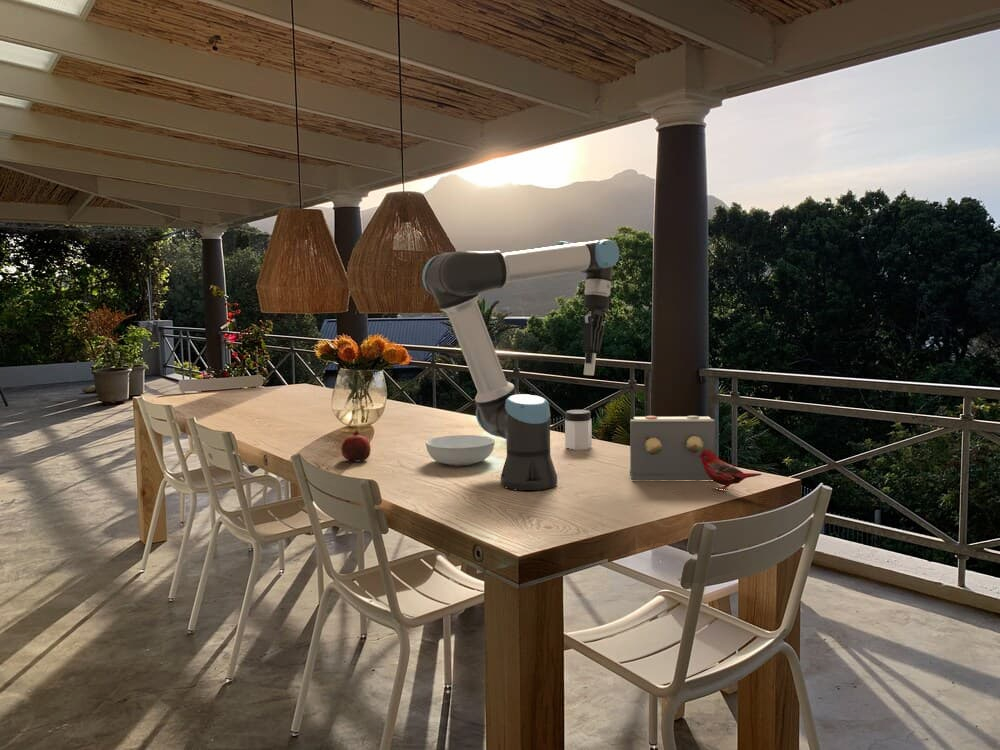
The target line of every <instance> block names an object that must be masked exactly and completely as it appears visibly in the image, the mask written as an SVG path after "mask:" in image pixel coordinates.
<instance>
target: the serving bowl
mask: <svg viewBox="0 0 1000 750" xmlns="http://www.w3.org/2000/svg"><path fill="white" fill-rule="evenodd" d="M425 447H426V451H427V453H428V455H429V456H430V458H432V459H433V460H434V461H436V462H438V463H439V464H440V463H441V464H445V465H447V464H449V465H448V466H452V465H466V466H470V465H469V464H471V465H474V464H476V463H479V462H480V463H481V462H482V461H485V460H486V459H487V458H489V456H491V454H492V453H493V451H494V448H495V439H494V438H492V437H489V436H485V435H475V434H474V435H473V434H455V435H442V436H436V437H433V438H430V439H428V440H426V441H425ZM473 463H474V464H473Z"/></svg>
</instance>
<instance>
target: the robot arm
mask: <svg viewBox="0 0 1000 750" xmlns="http://www.w3.org/2000/svg"><path fill="white" fill-rule="evenodd" d="M619 258H620V248H619V246H618V244H617V243H616V242H615V241H613V240H612V239H603V238H602V239H599V240H592V241H583V242H576V243H574V242H570V241H563V240H560V241H558V242H557V243H556V244H555V245H553V246H546V247H540V248H534V249H525V250H524V249H523V250H518V251H510V252H504V253H503V252H502V251H500V250H498V249H496V250H486V251H485V250H481V251H480V250H479V251H476V250H475V251H474V250H458V251H453V252H452V251H450V252H442V253H439V254H436V255H435V256H433V257H431V258H430V259H429V260H428V261H427V262H426V264H425V265H424V267H423V271H422V275H421V276H422V277H421V278H422V283H423V287H424V288H425V290H426V291H427V292H428V293H429V294H430V295H432V297H434V298H435V302H436V303H437V307H438V309H439V311H442V312H444V313H445V314H447V317H448V319H449V321H450V323H451V326H452V327H451V328H452V329H453V332H454V335H455V337H456V339H457V342H458V344H459V348H460V350H461V353H462V355H463V358H464V360H465V362H466V365H467V368H468V370H469V373H470V375H471V378H472V381H473V383H474V386H475V388H476V390H477V393H476V395H475V397H474V400H475V404H476V406H477V407H476V410H475V416H476V421H477V423H478V426H479V427H480V428H482V430H484V431H485V432H487V433H488V434H490V435H491V436H494V437H498V438H502V439H504V440H505V439H506V458H505V460H504V464H503V468H502V470H501V474H500V485H501V486H502V485H503V486H504V487H503V486H502V487H503V488H505V487H507V488H510V489H509V490H511V489H516V490H515V491H518V490H538V491H541V490H540V489H545V490H548V489H547V488H549V489H552V488H555V487H556V486H557V485H558V474H557V472H556V469H555V466H554V462H553V460H552V457H551V409H550V403H549V401H548V400H547V399H546V398H544V397H542V396H539V395H536V394H534V395H533V394H532V395H531V394H527V393H523V394H522V393H519V394H518V392H517V390H516V387H515V385H514V384H513V383H511V382H509V381H507V379H506V376H505V373H504V371H503V368H502V366H501V363H500V360H499V357H498V355H497V352H496V350H495V347H494V344H493V341H492V338H491V337H490V334H489V330H488V328H487V325H486V323H485V320H484V318H483V315H482V312H481V309H480V307H479V305H478V304H479V303H478V299H479V298H480V294H481V293H483V292H488V291H492V290H495V289H501V288H504V287H505V285H507V283H514V282H520V281H526V280H533V279H537V278H546V277H551V276H558V275H565V274H570V273H577V272H580V273H584V274H586V277H585V286H584V294H585V295H584V296H583V305H582V306H583V308H584V309H587V311H586V315H583V316H582V324H583V325H582V352H583V353H585V356H584V357H585V358H584V368H583V375H584V376H595V369H596V368H595V367H596V362H597V361H596V360H597V359H596V358H597V355H600V353H601V352H600V351H601V346H602V341H603V337H604V333H605V332H604V331H605V328H606V327H607V326H606V325H607V323H606V321H604V311H608V310H609V309H610V308H609V307H610V302H611V301H610V296H611V289H612V288H613V285H612V281H613V274H614V273H613V271H614V266H615V265H616V264H617V263H618V261H619ZM556 484H557V485H556ZM555 485H556V486H555ZM551 487H552V488H551ZM507 488H506V489H507Z"/></svg>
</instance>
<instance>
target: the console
mask: <svg viewBox="0 0 1000 750" xmlns="http://www.w3.org/2000/svg"><path fill="white" fill-rule="evenodd" d="M629 421H630V422H629V424H630V426H629V429H630V430H629V431H630V432H629V433H630V434H629V437H630V438H629V440H630V442H629V443H630V445H629V447H630V448H629V449H630V450H629V452H630V453H629V455H630V456H629V457H630V458H629V459H630V463H629V464H630V468H629V477H630V476H631V477H630V480H712V479H711V478H710V477H709V476H708V475H707V473H706V471H705V469H704V466H703V463H702V460H701V458H700V457H698V456H699V455H700V454H701V453H702V451H703V450H705V449H708V450H710V451H711V452H713V453H714V454H715V453H716V451H715V445H716V444H715V441H716V440H715V439H716V437H715V436H716V421H715V419H714V418H711V417H710V416H709V415H707V416H699V415H687V416H656V415H646V416H633V419H629ZM691 435H696V436H698V437H700V438H701V439H702V441H703V448H702V449H701V450H700V451H699V452H696V453H693V452H690V451H689V450H688V449H687V447H686V445H685V442H686V439H687V437H689V436H691ZM646 437H657V438H658V439H659V440H660V442H661V444H662V449H661V451H660V452H659V453H658V454H655V455H652V454H649V453H648V452H647V451H646V449H645V446H644V444H645V441H646ZM715 455H716V454H715Z"/></svg>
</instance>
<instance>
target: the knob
mask: <svg viewBox="0 0 1000 750" xmlns="http://www.w3.org/2000/svg"><path fill="white" fill-rule="evenodd" d="M685 445H686V447H687V449H688V450H689V451H690V452H693V453H696V452H699V451H700V450H701V449H702V448H703V441H702V439H701V438H700V437H698V436H696V435H691V436H689V437H687V439H686V442H685Z"/></svg>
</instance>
